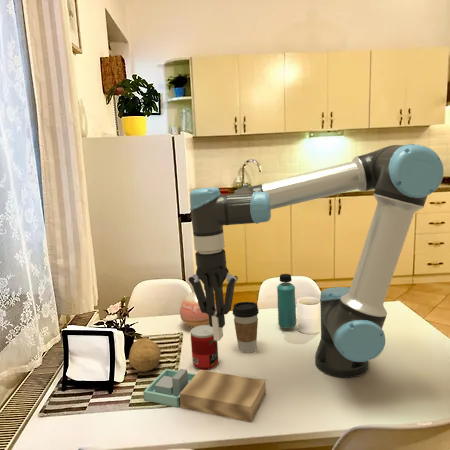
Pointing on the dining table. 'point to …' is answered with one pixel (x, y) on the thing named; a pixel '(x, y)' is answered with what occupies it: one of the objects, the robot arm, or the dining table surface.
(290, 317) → the beverage bottle
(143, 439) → the dining table surface
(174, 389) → the tile
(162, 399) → the tray
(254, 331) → the coffee cup
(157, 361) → the potato
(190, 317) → the vase
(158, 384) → the tile
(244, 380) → the oak board
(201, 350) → the canned food
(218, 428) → the dining table surface
